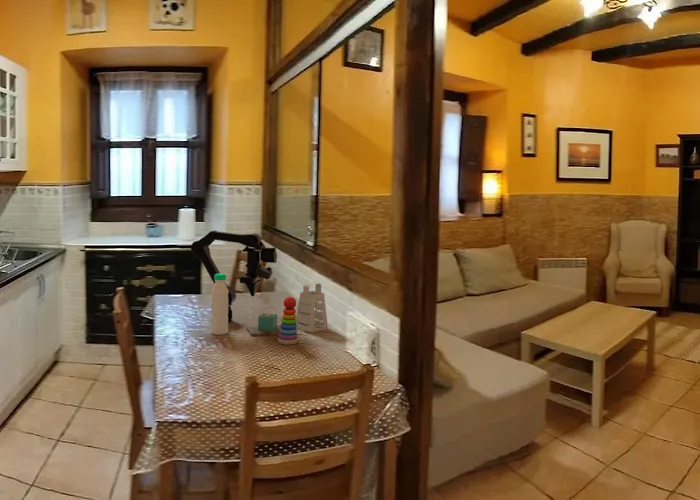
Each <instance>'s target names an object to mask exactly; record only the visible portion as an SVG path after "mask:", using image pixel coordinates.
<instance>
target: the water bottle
mask: <svg viewBox="0 0 700 500" xmlns="http://www.w3.org/2000/svg"><path fill="white" fill-rule="evenodd" d="M214 279H215V284H214V283H213V286H212V288H211V291H210V292H211V293H210V294H211V297H210V298H211V301H210V303H211V305H210V309H211V311H210V313H211V316H210V325H211V326H210V332H211V334H212V335H217V336H218V335H219V336H221V335H223V336H224V335H226V334H227V333H228V332H229V322H228V293H229V291H228V288H227V286H226V284H227V283H226V279H227V275H226V274H225V273H220V274H215V275H214ZM225 283H226V284H225Z"/></svg>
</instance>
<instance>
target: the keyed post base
mask: <svg viewBox="0 0 700 500" xmlns="http://www.w3.org/2000/svg"><path fill="white" fill-rule="evenodd" d="M280 325H281V324H280ZM280 325H279V324H277V329H275V330H274V331H273V332H270V331H258V325H257V326H246V327H245V328H246V331H247V332H248V333H249V335H250V336H251V337H260V336H261V337H262V336H279V333H280V328H281V326H280Z"/></svg>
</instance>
